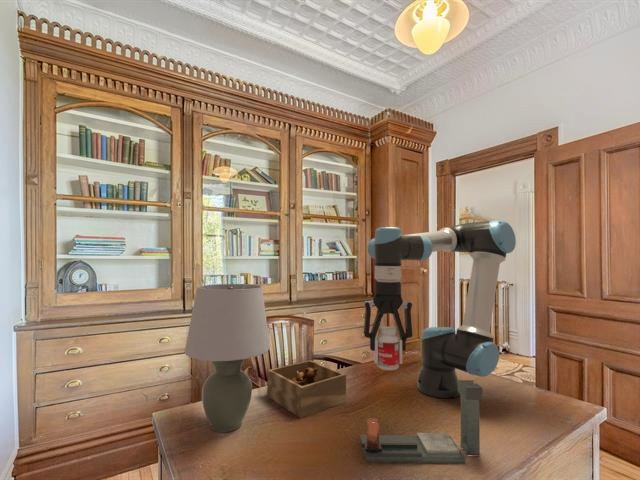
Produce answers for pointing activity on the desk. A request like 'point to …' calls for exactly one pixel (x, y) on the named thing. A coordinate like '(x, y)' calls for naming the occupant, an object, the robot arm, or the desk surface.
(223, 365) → the lamp
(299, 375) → the bear figurine
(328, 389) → the bear crate
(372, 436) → the lever
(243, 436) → the desk surface
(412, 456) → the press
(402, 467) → the desk surface
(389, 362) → the pill bottle
